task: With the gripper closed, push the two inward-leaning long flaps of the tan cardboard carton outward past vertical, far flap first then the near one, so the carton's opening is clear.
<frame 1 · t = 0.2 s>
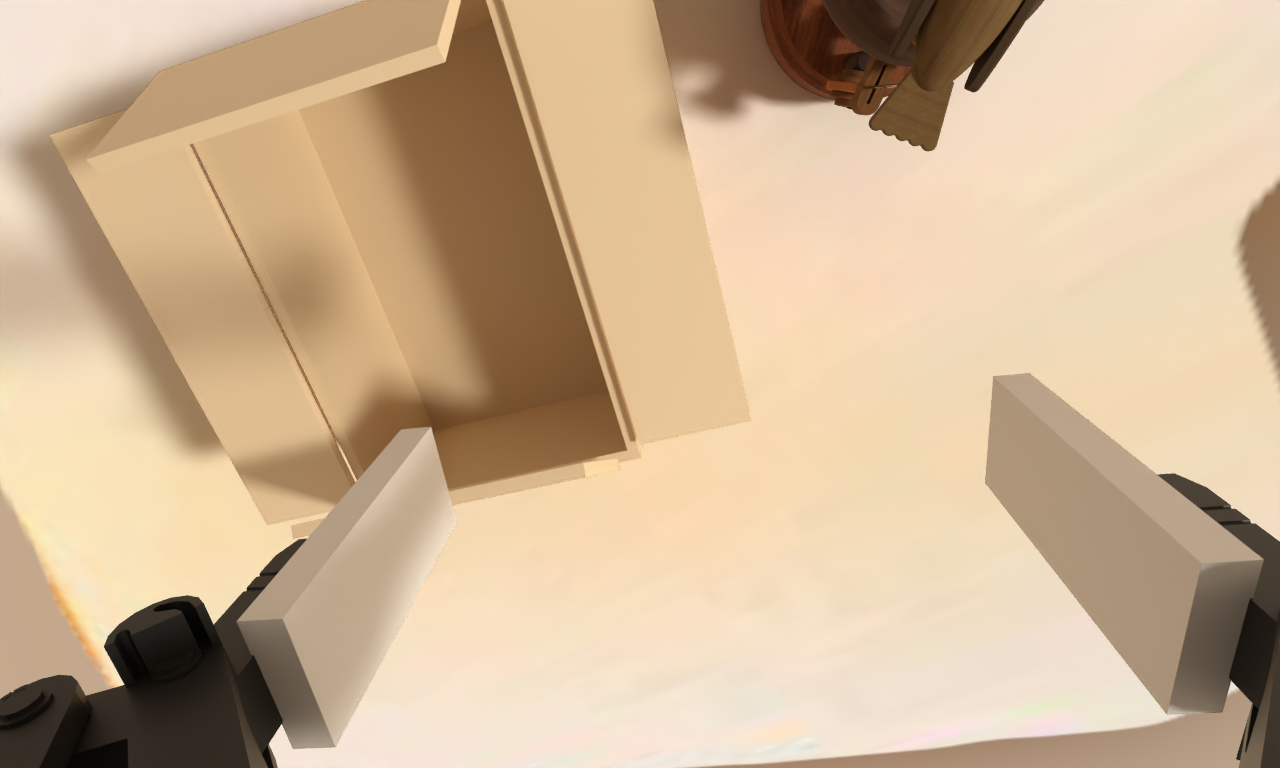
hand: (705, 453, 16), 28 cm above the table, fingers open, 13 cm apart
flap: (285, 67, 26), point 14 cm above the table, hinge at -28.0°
carton: (478, 243, 43), on the table
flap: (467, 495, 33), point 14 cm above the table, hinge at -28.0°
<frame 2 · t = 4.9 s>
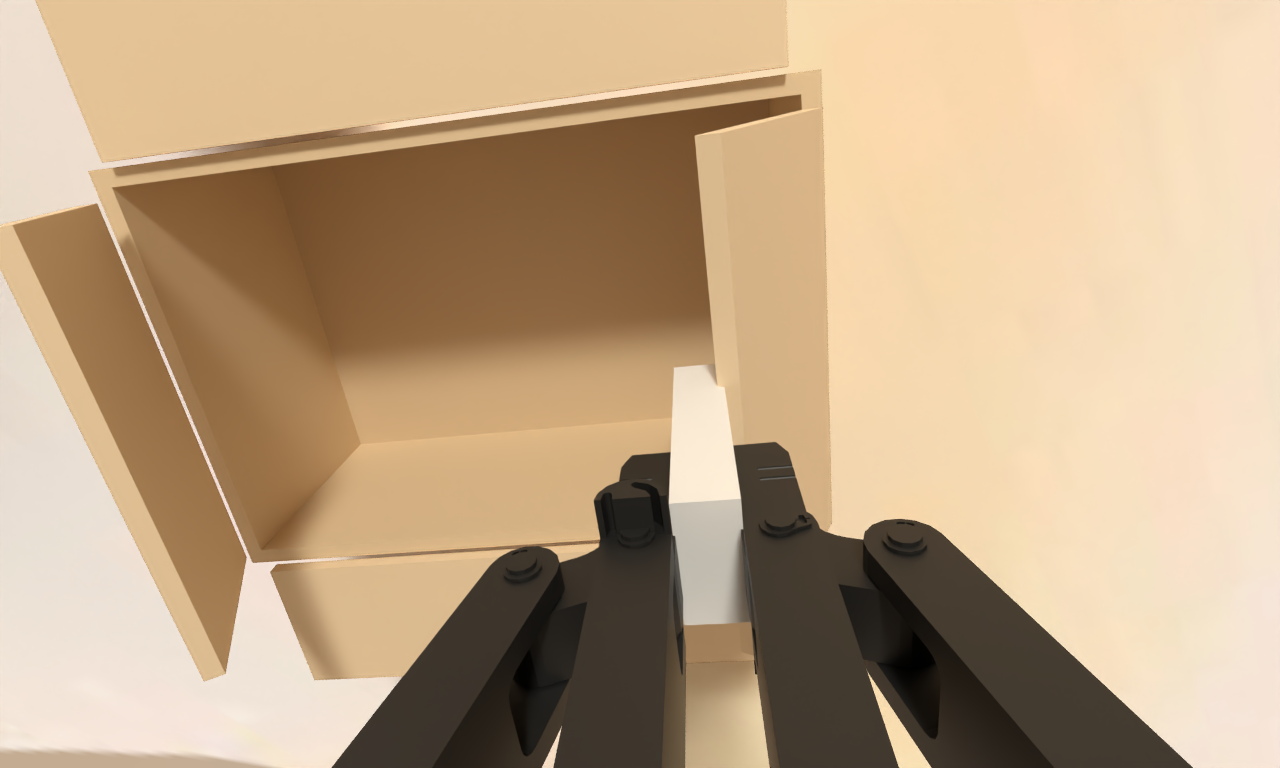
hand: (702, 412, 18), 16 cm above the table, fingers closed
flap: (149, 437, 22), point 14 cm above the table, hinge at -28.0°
carton: (541, 287, 34), on the table
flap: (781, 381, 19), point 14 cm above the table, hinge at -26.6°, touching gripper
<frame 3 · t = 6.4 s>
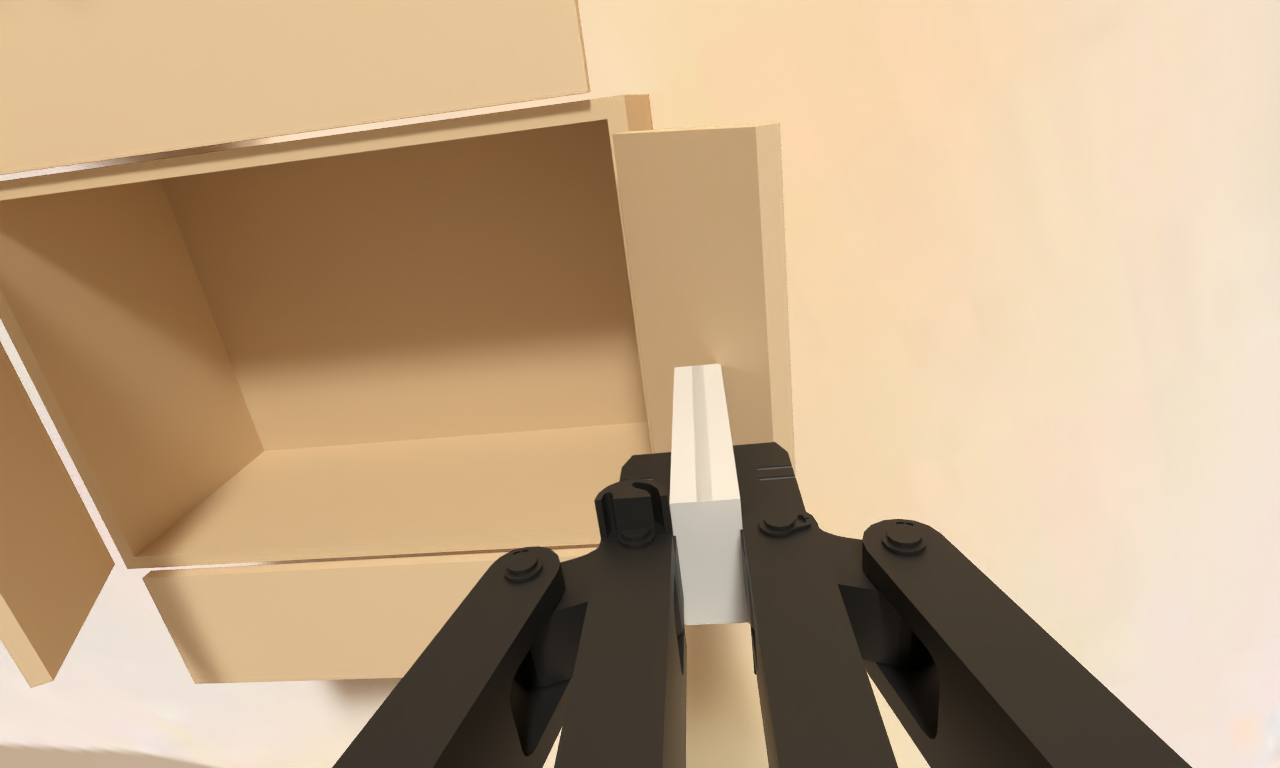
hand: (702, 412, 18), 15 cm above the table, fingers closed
carton: (430, 299, 34), on the table
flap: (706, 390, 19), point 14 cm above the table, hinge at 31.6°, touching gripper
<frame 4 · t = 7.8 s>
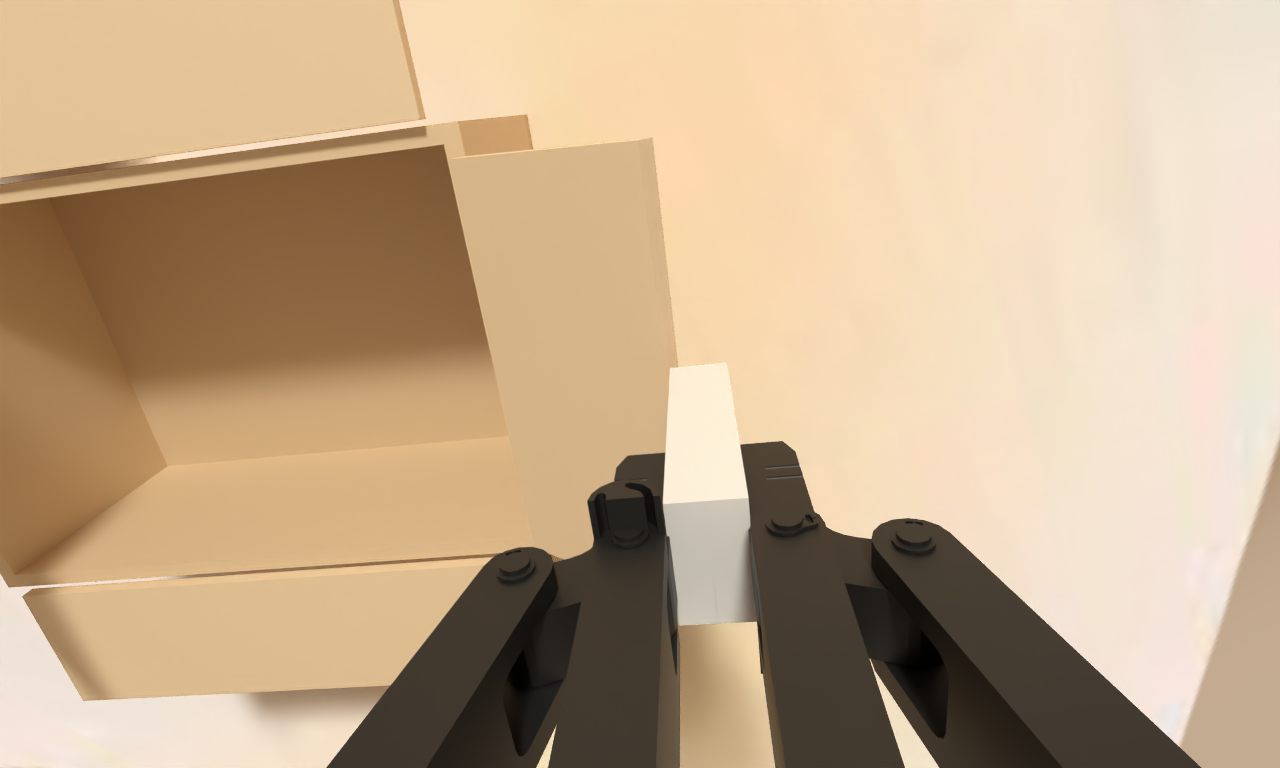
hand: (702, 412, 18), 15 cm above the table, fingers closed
carton: (326, 314, 34), on the table
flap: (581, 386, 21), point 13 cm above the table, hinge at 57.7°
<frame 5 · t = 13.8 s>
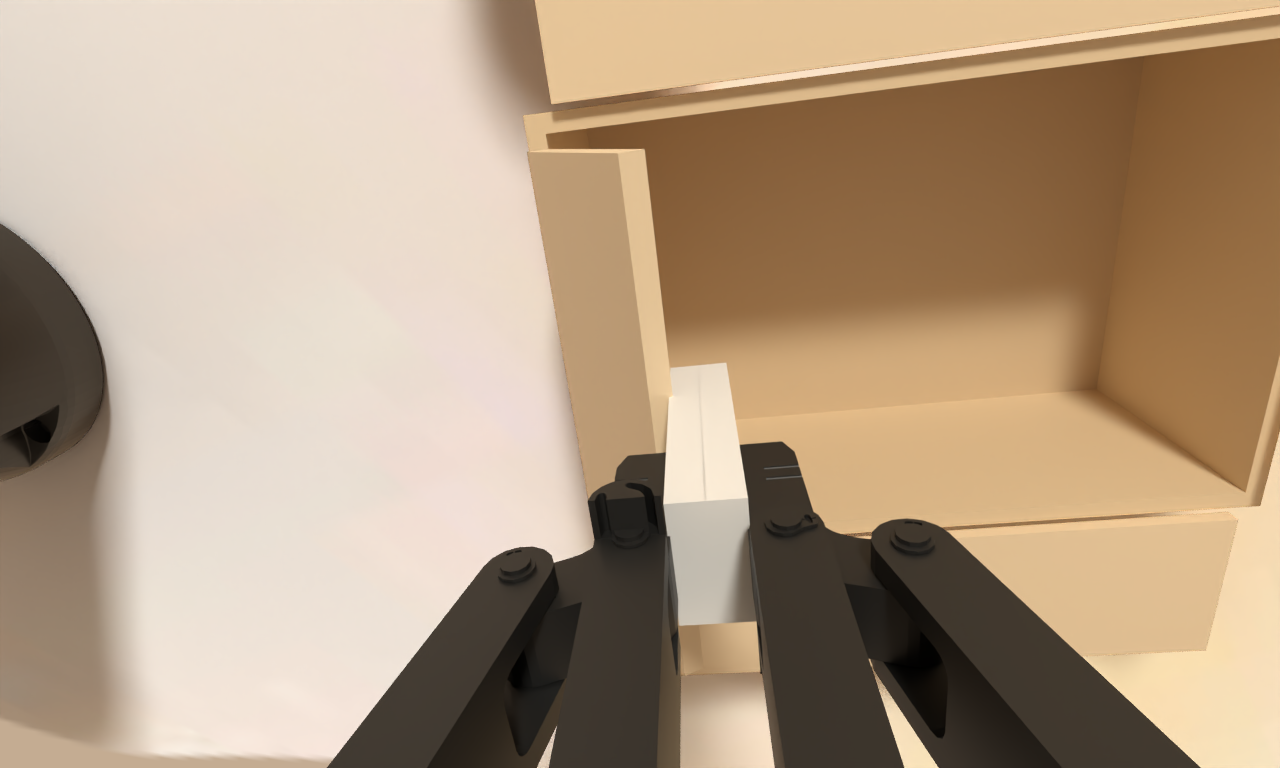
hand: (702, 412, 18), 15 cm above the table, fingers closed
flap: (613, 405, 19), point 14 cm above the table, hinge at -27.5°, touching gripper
carton: (851, 260, 32), on the table
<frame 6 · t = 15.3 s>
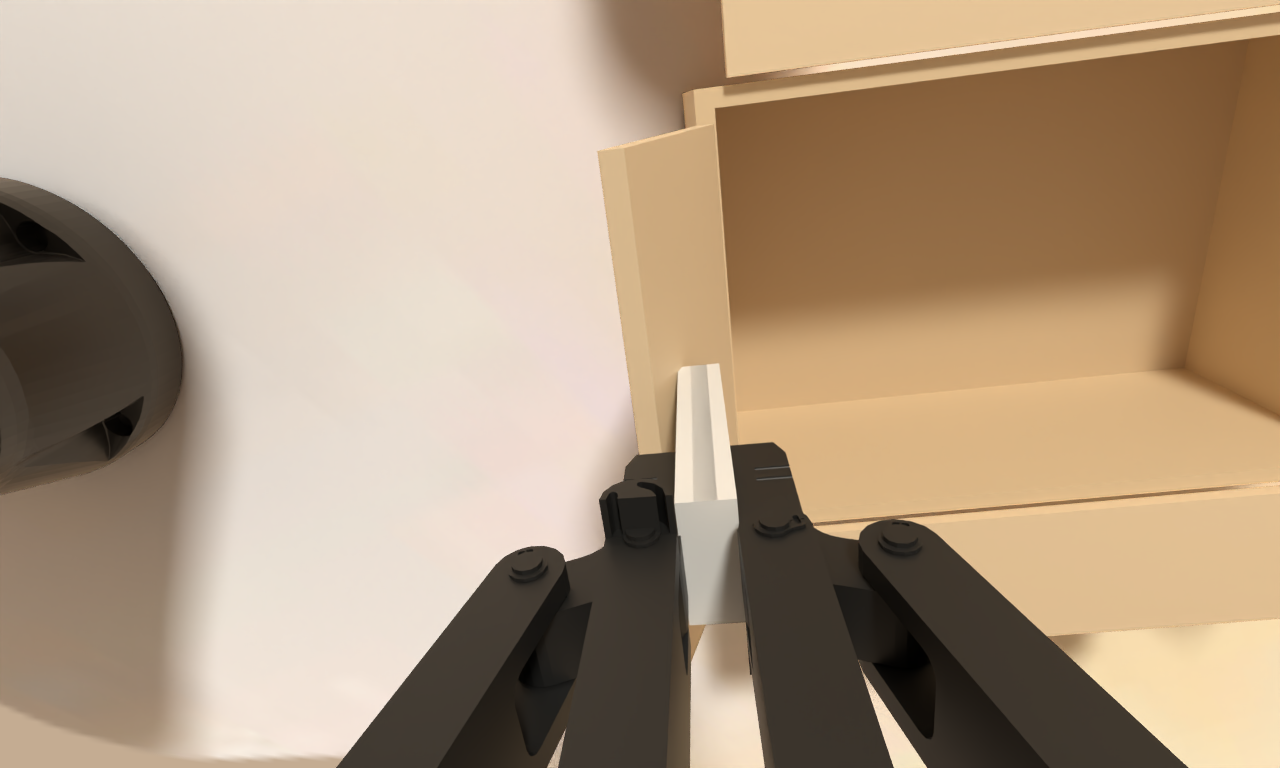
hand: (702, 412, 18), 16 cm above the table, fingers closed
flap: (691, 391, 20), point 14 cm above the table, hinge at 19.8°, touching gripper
carton: (951, 242, 32), on the table
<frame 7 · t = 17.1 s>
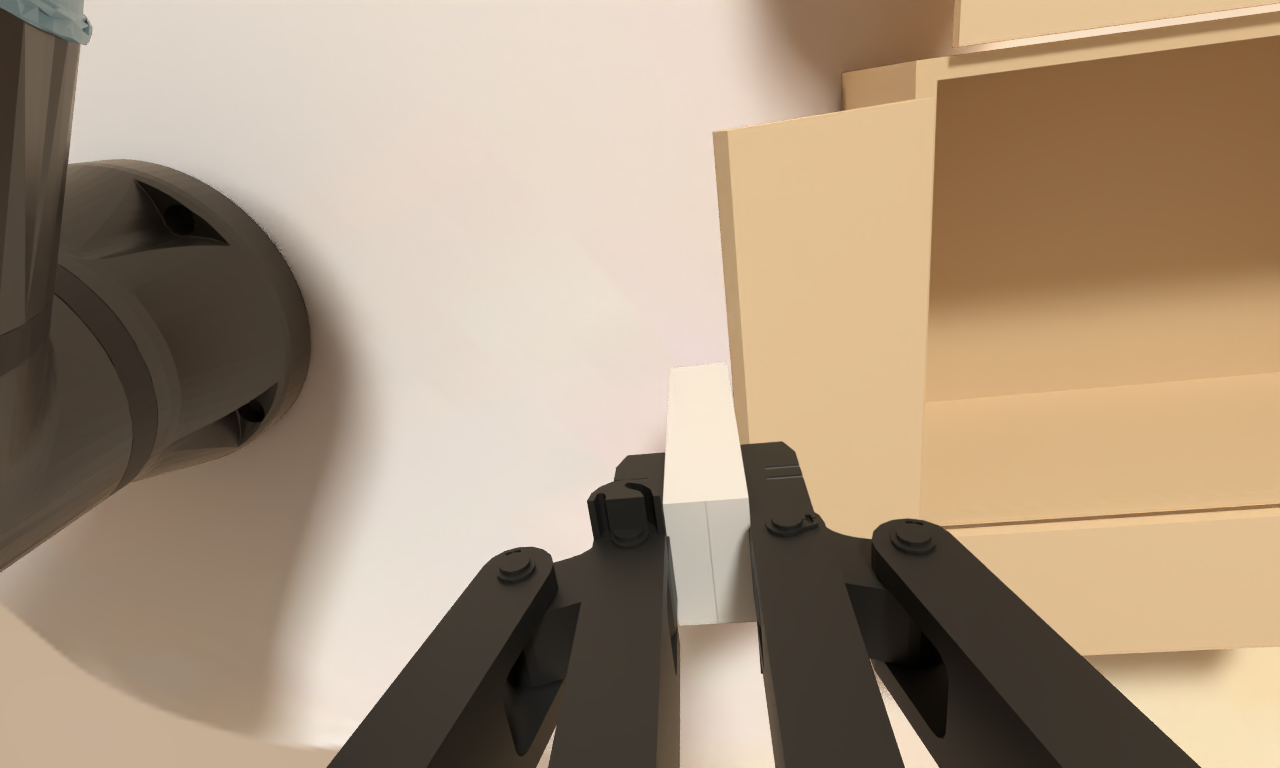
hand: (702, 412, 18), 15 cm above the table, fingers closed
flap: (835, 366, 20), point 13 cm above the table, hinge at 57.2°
carton: (1117, 230, 30), on the table
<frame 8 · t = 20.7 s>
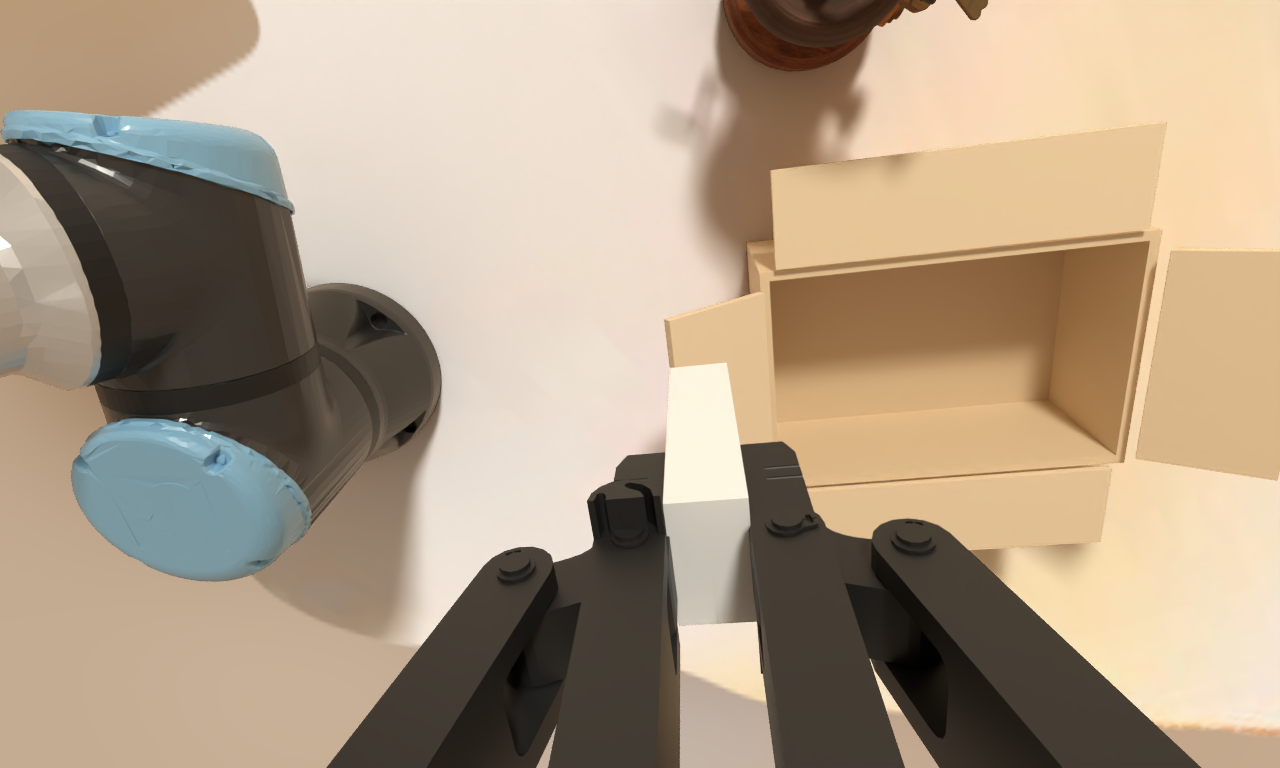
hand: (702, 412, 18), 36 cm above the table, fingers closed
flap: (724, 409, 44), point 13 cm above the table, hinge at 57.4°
carton: (903, 325, 54), on the table
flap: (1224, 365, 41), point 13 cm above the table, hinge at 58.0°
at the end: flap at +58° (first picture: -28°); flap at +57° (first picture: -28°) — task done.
